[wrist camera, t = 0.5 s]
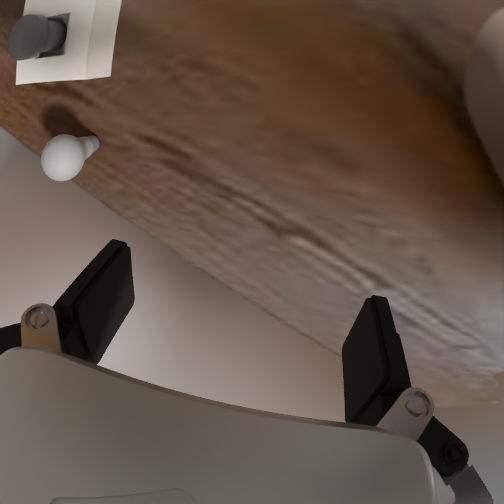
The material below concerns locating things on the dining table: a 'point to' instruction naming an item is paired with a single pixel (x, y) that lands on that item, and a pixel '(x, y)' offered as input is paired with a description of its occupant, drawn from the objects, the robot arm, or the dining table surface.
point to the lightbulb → (67, 155)
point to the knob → (35, 36)
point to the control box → (74, 41)
